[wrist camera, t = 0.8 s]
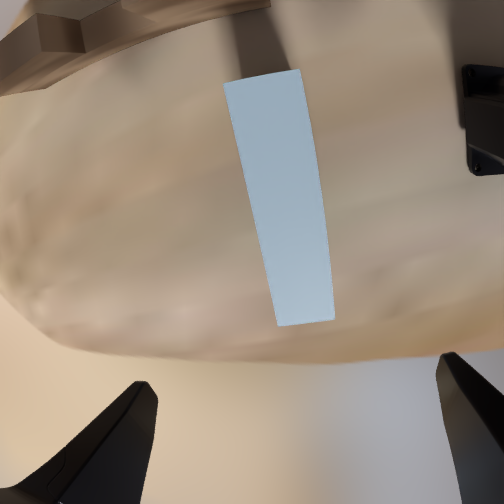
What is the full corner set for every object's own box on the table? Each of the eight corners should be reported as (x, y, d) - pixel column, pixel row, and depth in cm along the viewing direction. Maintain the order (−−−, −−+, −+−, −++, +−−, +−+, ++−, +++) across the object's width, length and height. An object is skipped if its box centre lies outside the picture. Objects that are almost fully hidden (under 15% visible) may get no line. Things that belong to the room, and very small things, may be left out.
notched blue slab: (292, 76, 14) (299, 68, 9) (322, 252, 19) (335, 319, 13) (243, 85, 15) (222, 83, 9) (280, 258, 19) (278, 326, 14)
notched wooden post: (262, -25, 11) (252, -76, 6) (270, 6, 12) (265, -35, 7) (40, 61, 14) (-30, 68, 9) (45, 88, 15) (-24, 102, 10)
